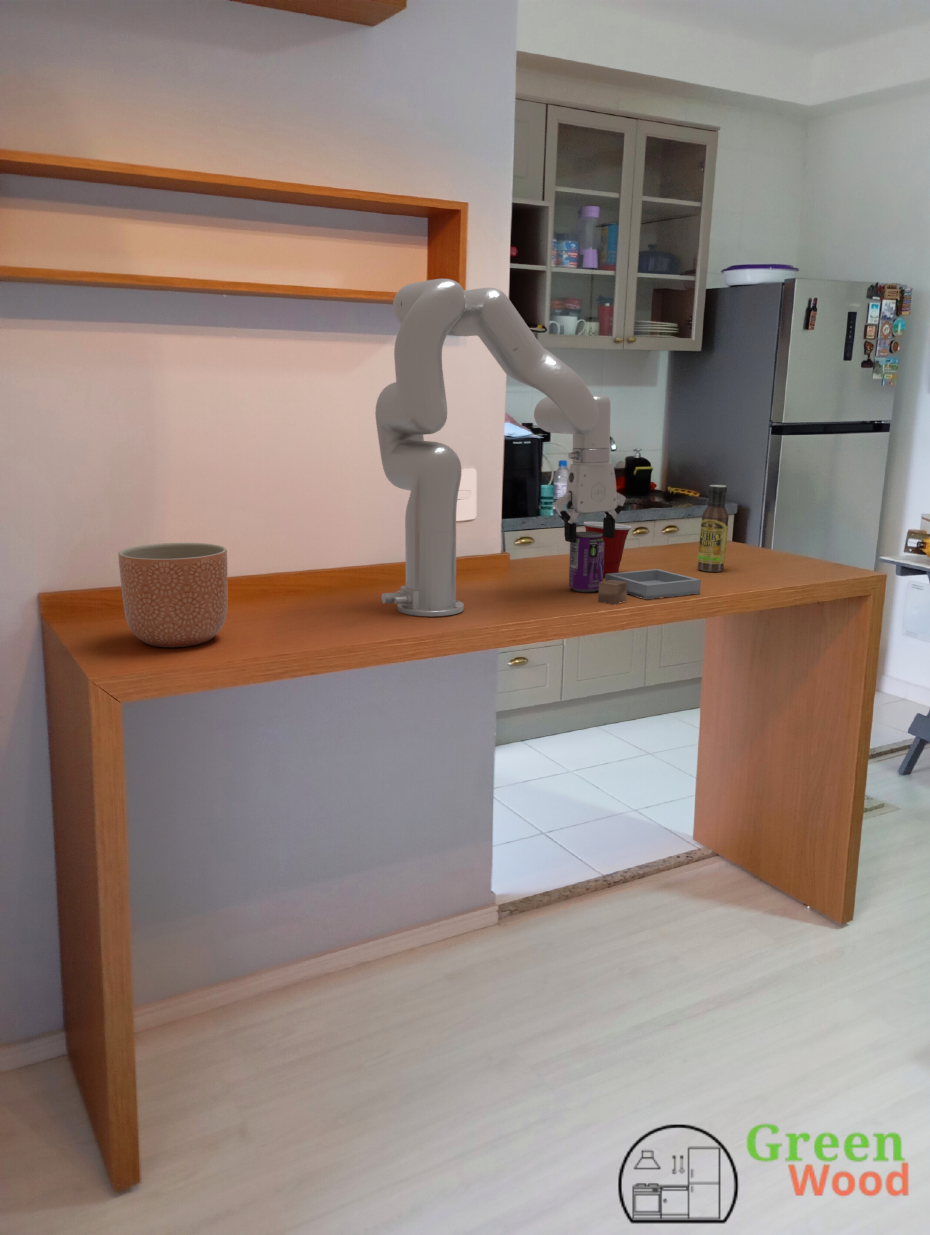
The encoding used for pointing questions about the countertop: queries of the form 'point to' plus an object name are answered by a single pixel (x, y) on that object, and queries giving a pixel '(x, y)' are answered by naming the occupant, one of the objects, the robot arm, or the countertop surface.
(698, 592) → the tray
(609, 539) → the plastic cup
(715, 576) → the countertop surface
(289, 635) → the countertop surface
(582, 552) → the beverage can
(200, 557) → the planter
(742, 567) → the countertop surface
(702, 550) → the sauce bottle
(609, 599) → the walnut block
